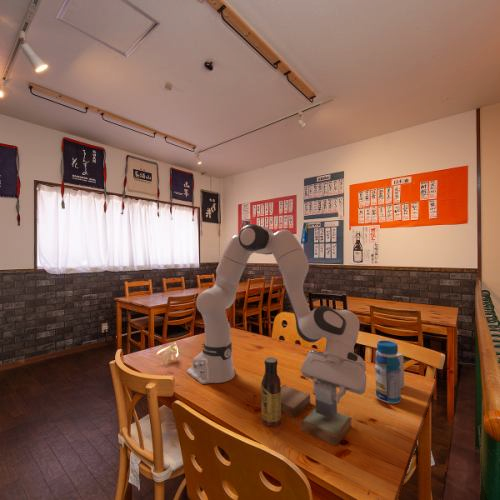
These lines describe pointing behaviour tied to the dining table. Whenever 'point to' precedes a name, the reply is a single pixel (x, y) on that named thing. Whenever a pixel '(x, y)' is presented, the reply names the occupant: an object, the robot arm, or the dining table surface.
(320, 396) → the housing
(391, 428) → the dining table surface
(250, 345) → the dining table surface
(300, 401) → the stand left
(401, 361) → the small box
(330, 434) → the stand right
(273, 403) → the sauce bottle
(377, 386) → the beverage bottle
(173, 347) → the shrimp
